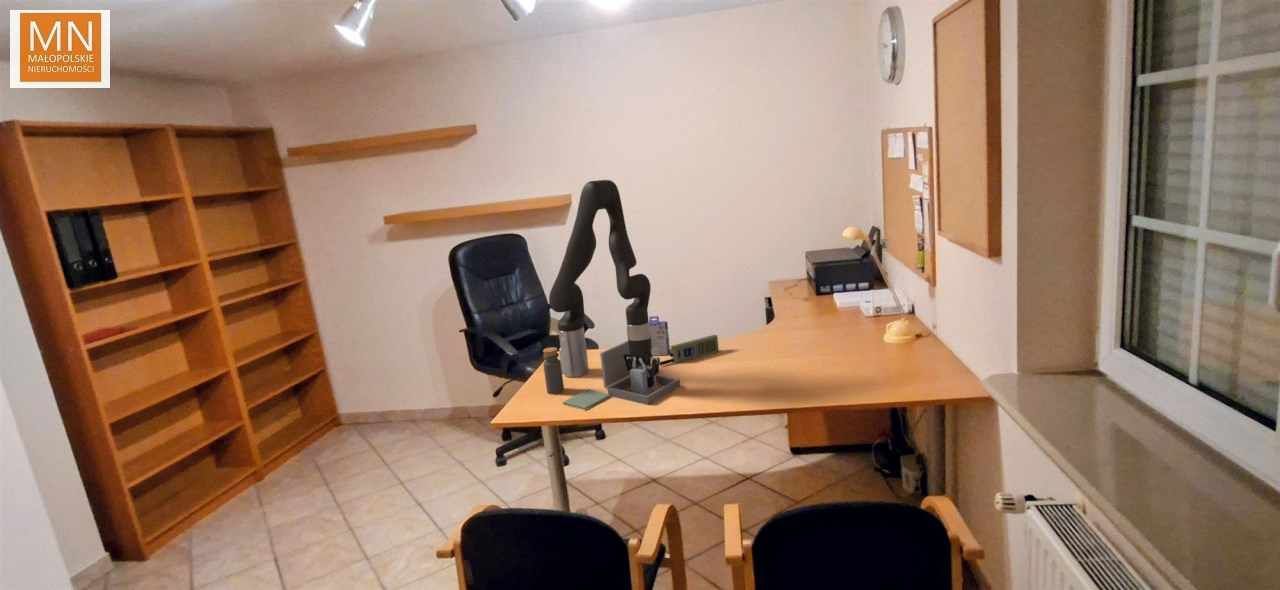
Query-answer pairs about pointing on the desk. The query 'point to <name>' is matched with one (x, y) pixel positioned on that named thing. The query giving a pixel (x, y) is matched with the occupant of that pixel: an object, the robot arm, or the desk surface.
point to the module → (641, 381)
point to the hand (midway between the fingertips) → (644, 385)
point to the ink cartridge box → (659, 336)
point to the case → (619, 377)
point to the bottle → (553, 371)
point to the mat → (586, 399)
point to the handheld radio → (693, 349)
